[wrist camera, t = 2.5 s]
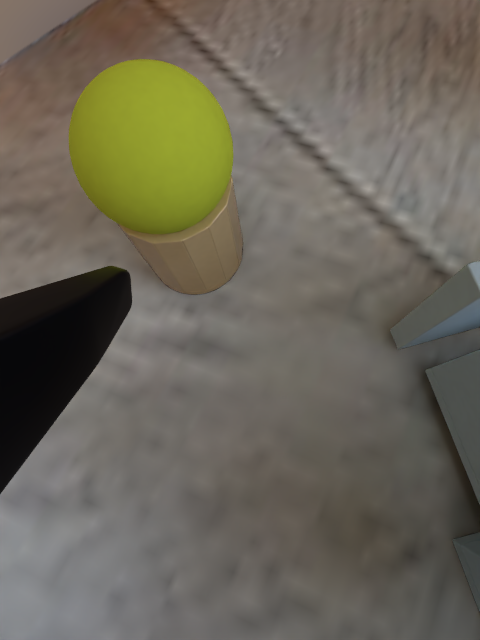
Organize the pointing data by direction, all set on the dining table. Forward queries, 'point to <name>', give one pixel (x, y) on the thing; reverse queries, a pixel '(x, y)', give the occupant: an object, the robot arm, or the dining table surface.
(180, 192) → the ball
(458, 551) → the cabinet
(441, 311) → the drawer
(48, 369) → the robot arm
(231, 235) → the stand
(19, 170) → the dining table surface
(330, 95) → the dining table surface
